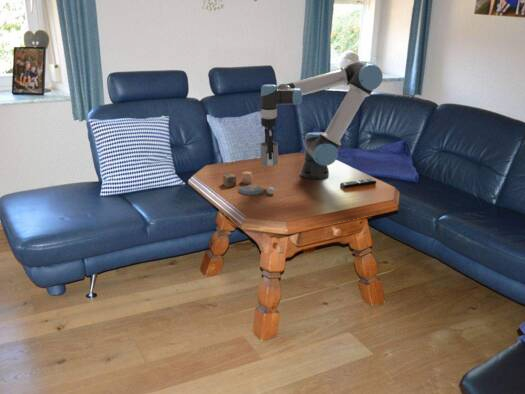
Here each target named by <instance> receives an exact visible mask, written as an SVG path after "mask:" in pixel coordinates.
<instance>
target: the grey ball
mask: <svg viewBox="0 0 525 394" xmlns="http://www.w3.org/2000/svg"><path fill="white" fill-rule="evenodd" d="M266 193H267V194H268V195H271V196H272V195H273V194H275V188H274V187H272V186H270V187H269V186H268V187H267V190H266Z"/></svg>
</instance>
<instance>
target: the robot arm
mask: <svg viewBox="0 0 525 394" xmlns="http://www.w3.org/2000/svg"><path fill="white" fill-rule="evenodd" d="M383 77H384V76H383V71H382V69H381V68H380V67H379V66H378V65H376V64H374V63H371V62H367V61H361V60H360V61H355V62H353V63H350V64H347V65H343V66H341V67H340V68H339V69H337V70H333V71H329V72H326V73H322V74H319V75H315V76H311V77H308V78H304V79H300V80H296V81H292V82H290V83H280V84H278V85H276V84H272V83H271V84H270V83H269V84H267V83H266V84H262V85H261V88H260V111H259V113H260V114H261V115H260V117H261V118H260V123H261V124H260V125H261V127H264V142H266V143H267V149H268V151H267V152H266V153H267V166H266V167H273V152H274V151H273V142H274V129H273V127H275V126H276V127H277V123H278V122H277V121H278V119H277V117H278V106H280V105H281V106H282V105H283V106H284V105H290V106H291V105H294V106H295V105H300V104H301V103H302V101H303V100H302V99H303V96H304V95H308V94H313V93H316V92H320V91H324V90H326V89H327V90H328V89H331V88H334V87H339V86H343V85H344V86H346V87H349V89H348V91H347V93H345V94H346V95H345V96H344V97H343V100H342V101H341V104H340V105H339V107H338V108H337V111H335V114H334V115H333V116H332V119H331V120H330V122H329V125H328V126H327V128H326V129H325V131H324V132H307V133H306V134H305V136H304V137H305V138H304V160H303V163H302V166H301V168H300V176H301V177H303V178H305V179H311V180H323V179H327V178H329V176H330V171H329V167H328V166H330V165H332V164H334V163H335V162H336V161H337V159H338V157H339V156H338V155H339V152H338V151H339V149H340V147H341V145H342V144H341V140H342V138H343V136H344V134H345V132H346V131H347V129H348V127H349V126H350V124H351V122H352V120H353V119H354V117H355V116H356V113H357V112H358V110H359V109H360V107H361V105H362V103H363V102H364V101H365V99H366V98H368V97H370V96H371V94H372V92H373V90H376V89H377V88H378V87H379V86H381V84H382V82H383Z"/></svg>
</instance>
